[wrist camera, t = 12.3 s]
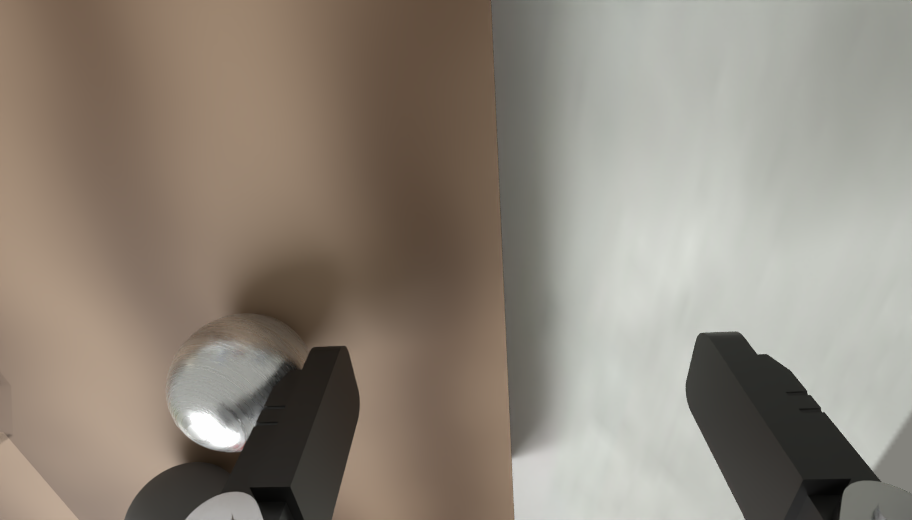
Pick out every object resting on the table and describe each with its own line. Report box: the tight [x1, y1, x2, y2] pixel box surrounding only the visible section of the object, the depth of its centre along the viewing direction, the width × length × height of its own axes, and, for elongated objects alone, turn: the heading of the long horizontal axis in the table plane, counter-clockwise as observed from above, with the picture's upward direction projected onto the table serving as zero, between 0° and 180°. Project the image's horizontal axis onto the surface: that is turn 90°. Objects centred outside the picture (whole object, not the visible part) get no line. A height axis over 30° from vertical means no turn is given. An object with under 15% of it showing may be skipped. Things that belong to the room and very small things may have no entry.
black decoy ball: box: [124, 462, 230, 520], centre depth 14 cm, size 3×3×3 cm
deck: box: [0, 0, 514, 520], centre depth 14 cm, size 26×18×2 cm
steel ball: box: [166, 313, 309, 452], centre depth 11 cm, size 3×3×3 cm
